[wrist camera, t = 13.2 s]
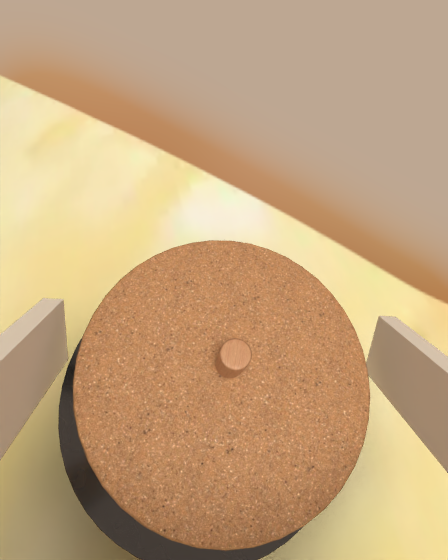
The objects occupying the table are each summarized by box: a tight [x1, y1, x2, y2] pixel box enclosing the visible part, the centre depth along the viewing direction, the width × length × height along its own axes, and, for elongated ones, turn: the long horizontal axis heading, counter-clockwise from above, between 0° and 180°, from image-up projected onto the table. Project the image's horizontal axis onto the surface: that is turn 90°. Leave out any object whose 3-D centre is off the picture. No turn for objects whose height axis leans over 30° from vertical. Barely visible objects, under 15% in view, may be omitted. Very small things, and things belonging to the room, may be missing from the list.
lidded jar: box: [73, 241, 370, 551], centre depth 14 cm, size 11×11×9 cm
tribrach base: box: [59, 337, 303, 560], centre depth 21 cm, size 17×17×5 cm
